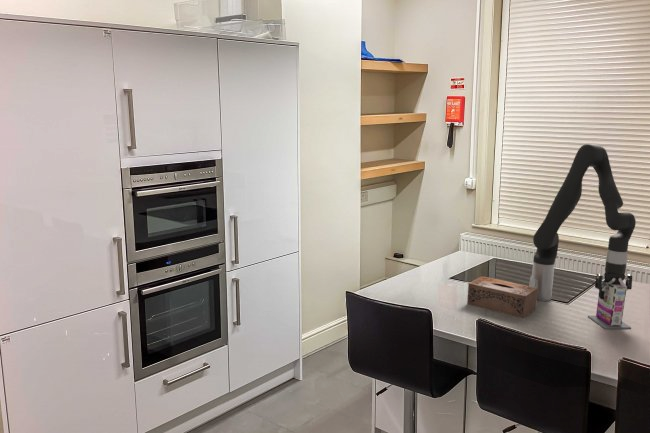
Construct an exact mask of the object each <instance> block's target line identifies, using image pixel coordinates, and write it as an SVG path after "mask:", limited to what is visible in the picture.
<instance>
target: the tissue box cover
mask: <svg viewBox="0 0 650 433" xmlns="http://www.w3.org/2000/svg"><path fill="white" fill-rule="evenodd" d="M467 285H468V286H467V302H466V305H470V306H474V307H478V308H482V309H486V310H490V311H494V312H498V313H501V314H502V313H503V314H505V315H511V316H515V317H517V318H518V317H519V318H522V319H525V318H526V317H528V315H530V314H532V313H533V312H534V311H536V309H537V301H538V300H537V290H538V288H535V287H531V286H529V285H525V284H521V283H515V282H511V281H508V280H507V281H506V280H501V279H498V278H492V277H487V276H484V275H483V276H480V277H478V278H476V279H474V280H472V281H471V282H468V284H467Z"/></svg>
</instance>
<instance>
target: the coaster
mask: <svg viewBox="0 0 650 433" xmlns="http://www.w3.org/2000/svg"><path fill="white" fill-rule="evenodd" d="M587 318H589V319H590V320H592V321H593V322H594V323H596V324H597V325H598V326H600V327H601V328H602V329H604V330H631V329H632V326H629V325H628V324H627V323H625V322H624V321H622V325H621V326H610V325H608V324H607V323H605V322H604V321H602V320H601V319H599V318H598V317H596V315H587Z"/></svg>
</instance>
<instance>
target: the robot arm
mask: <svg viewBox="0 0 650 433" xmlns="http://www.w3.org/2000/svg"><path fill="white" fill-rule="evenodd" d="M589 167H591V168H593V169H594V171H595V173H596V175H597V177H598V178H597V179H598V187H597V188H598V195H599V198H600V200H601V202H602V204H603V207H604V216H605V222H606V225H607V227H608V228H609V229H610V230H612V231H617V232H616V233H615V234H613V235H611V236H609V239H608V247H607V251H606V258H605V265H604V273H603V274H600V273H597V274H596V276H595V281H594V282H595V283H594V288H596V289H598V296H599V297H600V299H604V294H605V291H604V290H605V289H606V288H607V287H609V286H610V285H613V284H617V285H619V284H620V285H622V286H623V287H625V288H626V292H627V291H628V290H632V287H633V276H632V275H631V274H630V273H626V272H627V263H628V250H629V241H630V239H631V237H632V235H633V233H634V230H635V227H636V224H637V222H636V217H635V215H634V214H632V212H624V211H623V212H619V209H620V208H622V207H623V205H624V201H623V199H622V196H621V193H620V192H619V189H618V187H617V185H616V181H615V179H614V175H613V171H612V167H611V163H610V158H609V155H608V152H607V149H606V148H604V147H603V146H601V145H598V144H592V143H586V144H583V145H581V146H580V147H579V148H578V150H577V152H576V154H575V156H574V158H573V162H572V163H571V165H570V169H569V171H568V172H567V175H566V176H565V179H564V181H563V183H562V184H561V187H560V188H559V190H558V191H557V194H556V196H555V197H554V199H553V201H552V203H551V205H550V207H549V210H548V212H547V214H546V216H545V218H544V220H543V221H542V222H541V224H540V226H539V227H538V228H537V230H536V232H535V233H534V235H533V238H532V240H533V244H534V247H535V248H536V251H535V253H534V255H533V261H532V262H533V263H532V273H531V276H529V285H528V286H531V287H535V288H538V290H537V301H540V302H548V301H551V300H552V293H553V286H554V284H553V283H554V276H555V275H554V274H555V273H554V272H555V262H556V259H557V256H558V251H559V250H558V249H559V240H560V237H559V233H558V231H559V229H560V227H561V226H562V225H563V224H564V222H565V221H566V220H567V219H568V217H570V215H571V214H572V213H573V212H574V211H575V209H576V207H577V205H578V204H579V201H580V200H581V198H582V193H583V191H582V190H583V179H584V177H585V174H586V172H587V171H588V169H589ZM602 280H604V281H603V282H602ZM624 280H625V282H624ZM606 283H607V284H606ZM626 295H627V293H626V294H625V297H627V296H626Z"/></svg>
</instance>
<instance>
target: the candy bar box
mask: <svg viewBox="0 0 650 433" xmlns="http://www.w3.org/2000/svg"><path fill="white" fill-rule="evenodd" d="M604 280H605V279H603V280H602V282H603V281H604ZM606 284H607V283H606ZM604 291H605V294H604V299H600V297H599V295H598V299H597V306H596V314H595V316H596V317H598V318H599V319H601V320H602V321H604V322H605V323H607V324H608V325H610V326H621V325H622V322H623V315H624V308H625V303H626V302H625V300H626V299H625V298H626V296H625V294H626V295H627V291H626V288H625V287H623V286H622V285H620V284H619V285H617V284H613V285H610V286H609V287H607V288H606V289H605V290H604Z"/></svg>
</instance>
